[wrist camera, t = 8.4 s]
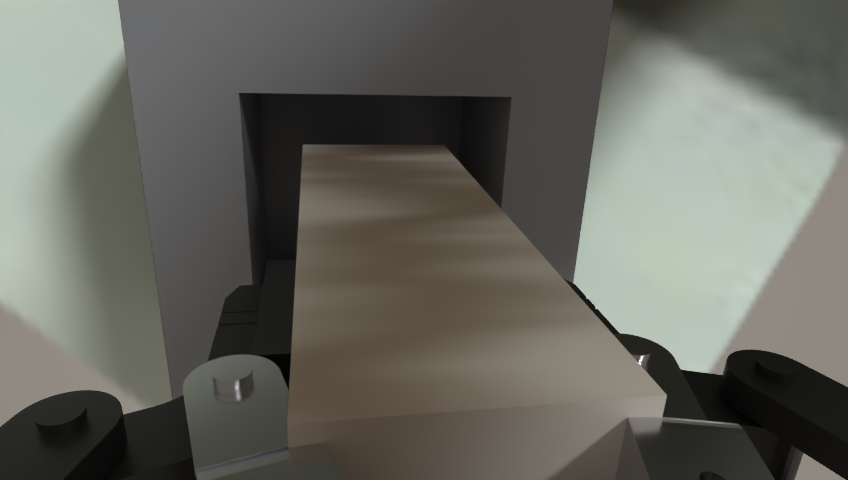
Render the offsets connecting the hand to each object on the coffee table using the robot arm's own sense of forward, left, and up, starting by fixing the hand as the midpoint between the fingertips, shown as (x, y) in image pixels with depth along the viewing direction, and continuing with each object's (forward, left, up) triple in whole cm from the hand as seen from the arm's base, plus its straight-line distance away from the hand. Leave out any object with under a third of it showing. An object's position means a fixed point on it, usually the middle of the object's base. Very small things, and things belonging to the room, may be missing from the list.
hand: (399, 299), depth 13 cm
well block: (0, 0, -11) cm, 11 cm away
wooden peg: (0, 0, -6) cm, 6 cm away
